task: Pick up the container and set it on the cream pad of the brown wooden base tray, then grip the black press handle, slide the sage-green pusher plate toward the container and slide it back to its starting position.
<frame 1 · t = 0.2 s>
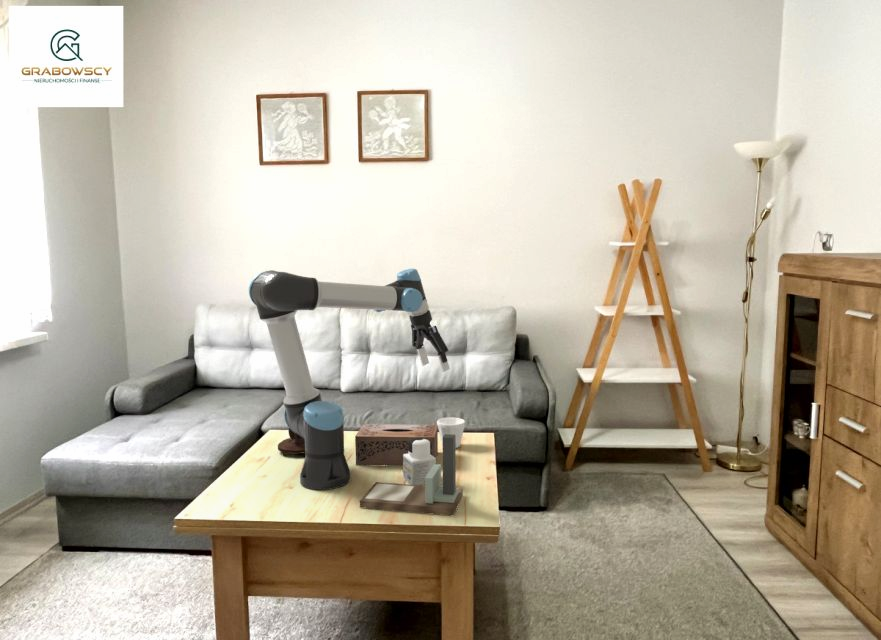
hand: (435, 367, 227), 28 cm above the table, tool tilted 20°, fingers open, 13 cm apart
cup: (451, 447, 225), on the table
brown wooden base tray: (412, 501, 177), on the table
container: (419, 481, 193), on the table
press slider: (442, 466, 174), point 11 cm above the table, slide at 0.0 cm
dark brown upright piece: (299, 451, 222), on the table
tissue box cover: (398, 459, 213), on the table
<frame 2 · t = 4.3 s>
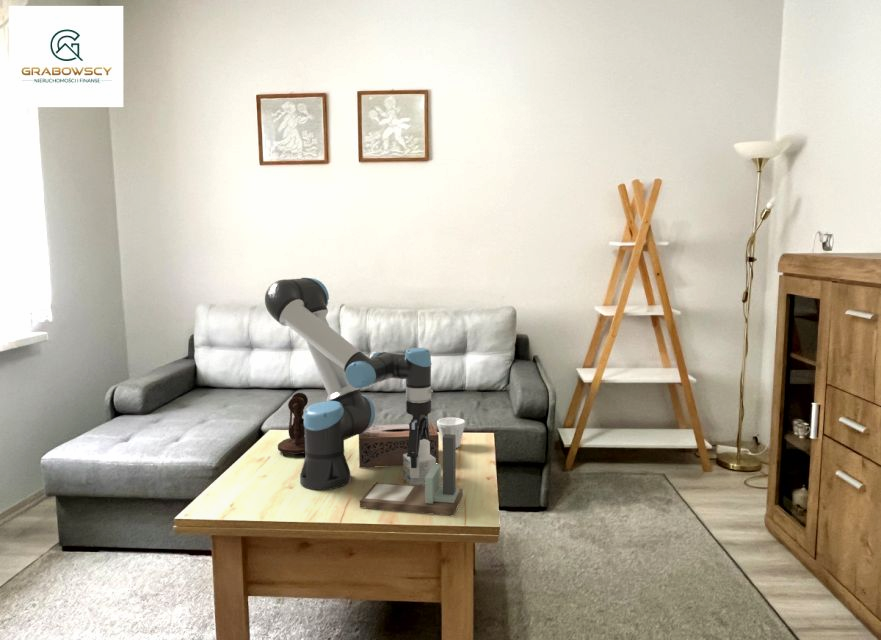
hand: (419, 471, 193), 3 cm above the table, tool pointing down, fingers closed on container, 10 cm apart
container: (419, 480, 193), on the table, touching gripper
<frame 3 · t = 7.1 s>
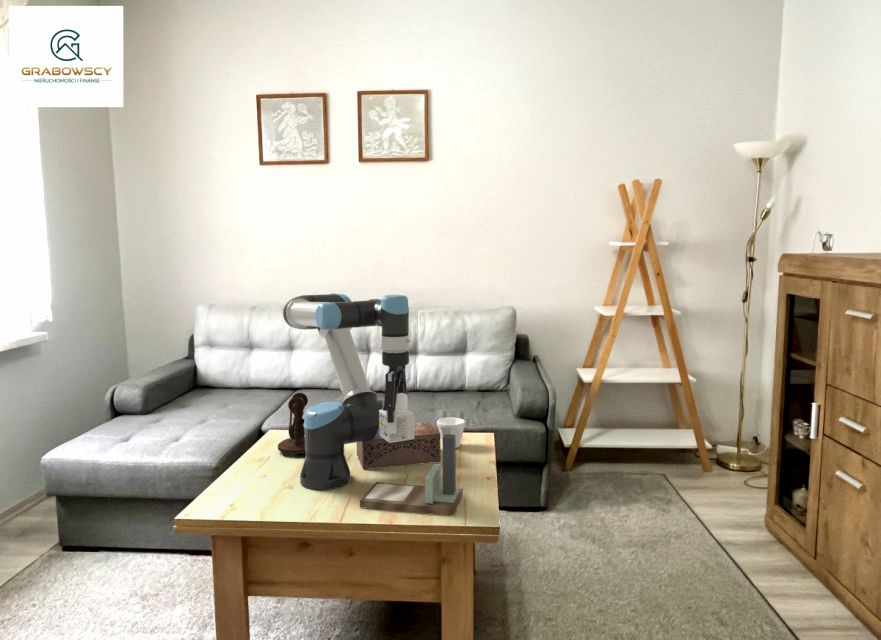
hand: (396, 427, 179), 20 cm above the table, tool pointing down, fingers closed on container, 10 cm apart
container: (396, 438, 180), point 17 cm above the table, touching gripper
when the fingers open (6 cm above the table, at t = 10.3 s): container stays where it is, resting on brown wooden base tray.
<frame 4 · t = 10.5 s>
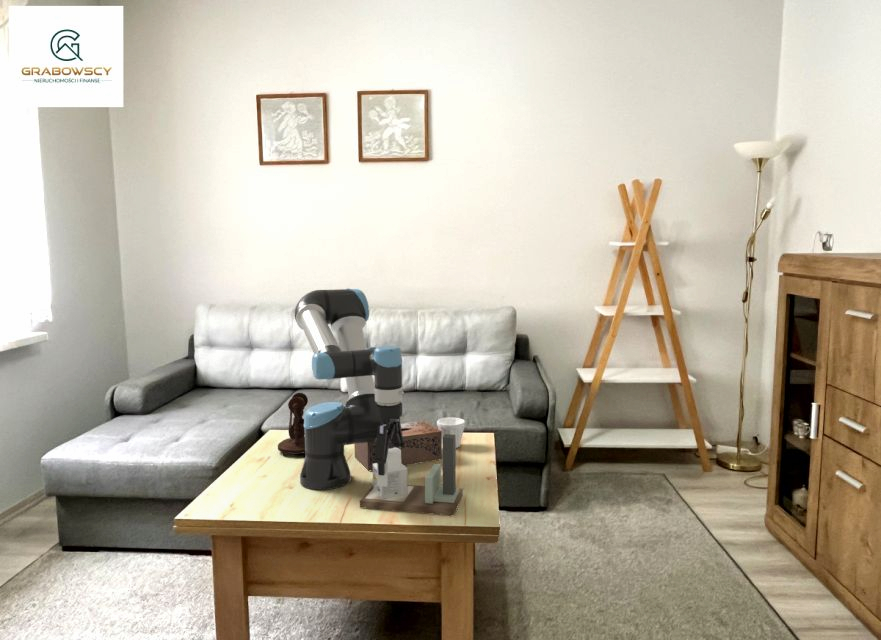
hand: (389, 477, 178), 7 cm above the table, tool pointing down, fingers open, 12 cm apart
container: (390, 492, 178), point 2 cm above the table, touching brown wooden base tray
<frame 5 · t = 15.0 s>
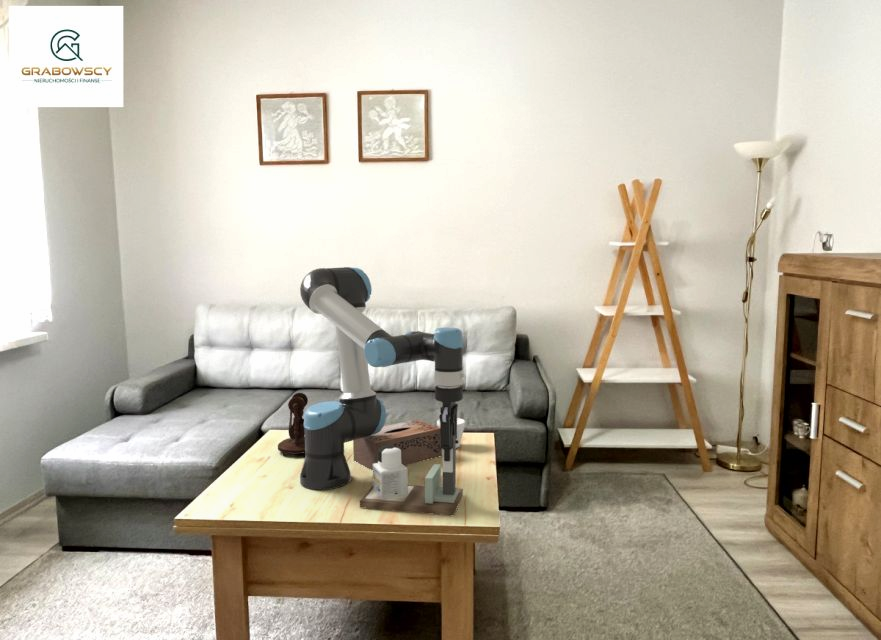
hand: (449, 469, 174), 10 cm above the table, tool pointing down, fingers closed on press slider, 3 cm apart
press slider: (442, 466, 174), point 11 cm above the table, slide at 0.0 cm, touching gripper
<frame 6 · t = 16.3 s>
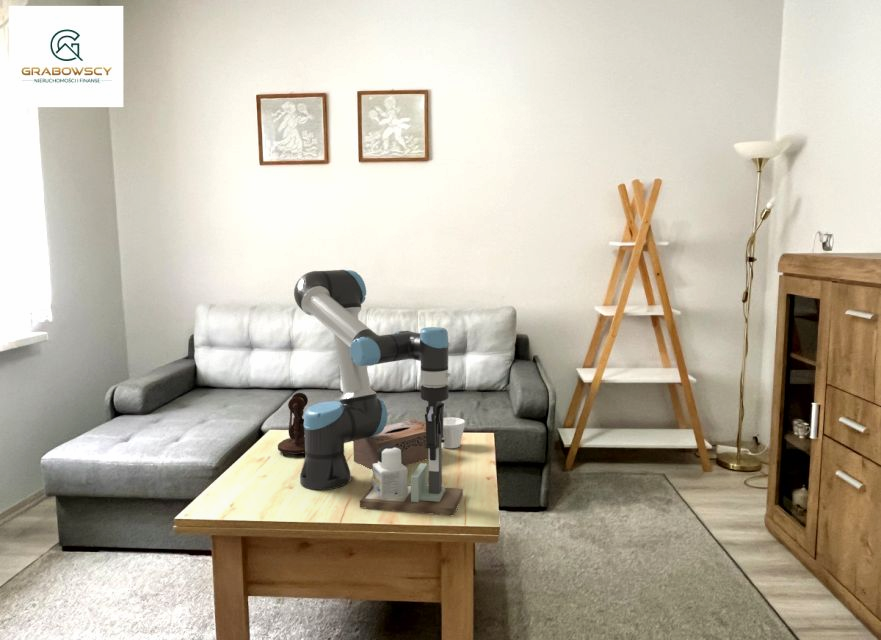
hand: (435, 468, 174), 10 cm above the table, tool pointing down, fingers closed on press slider, 3 cm apart
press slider: (429, 465, 175), point 11 cm above the table, slide at 3.9 cm, touching gripper
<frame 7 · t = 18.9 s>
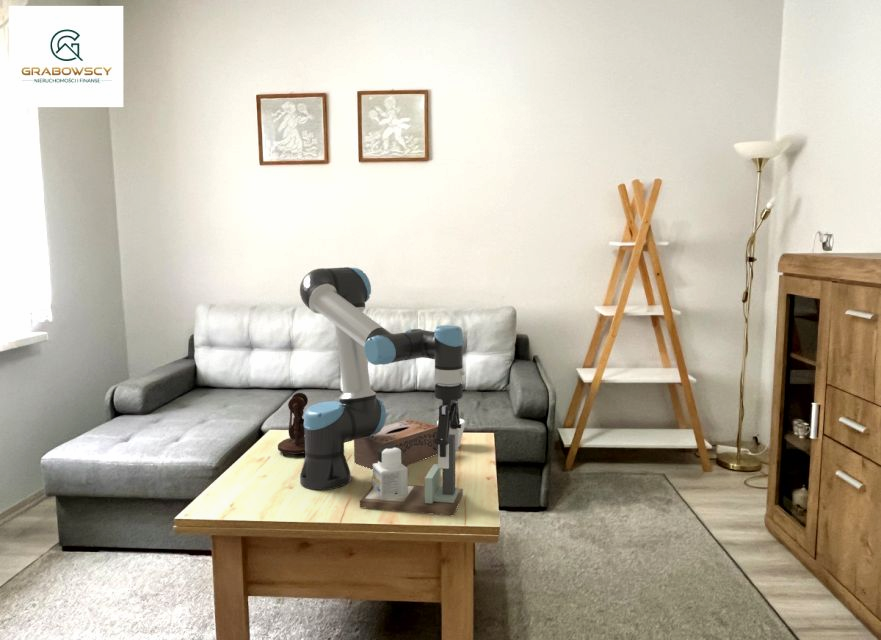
hand: (448, 459, 173), 13 cm above the table, tool pointing down, fingers open, 13 cm apart
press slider: (442, 466, 174), point 11 cm above the table, slide at 0.1 cm
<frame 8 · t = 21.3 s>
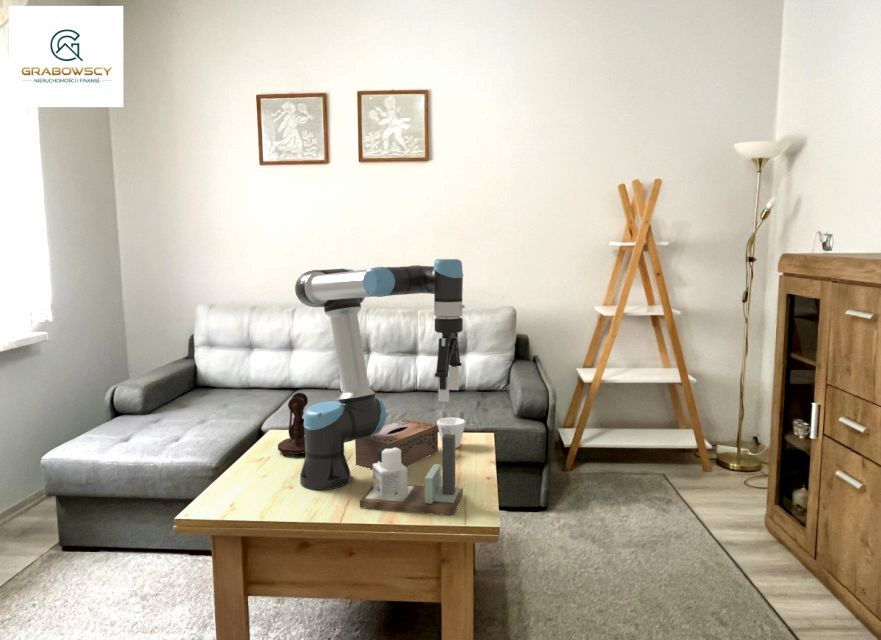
hand: (448, 395, 171), 31 cm above the table, tool pointing down, fingers open, 13 cm apart
at the end: container inside the target area (0.1 cm from its centre), point 1.9 cm above the table; container tilted 0°; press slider slide at 0.1 cm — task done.
